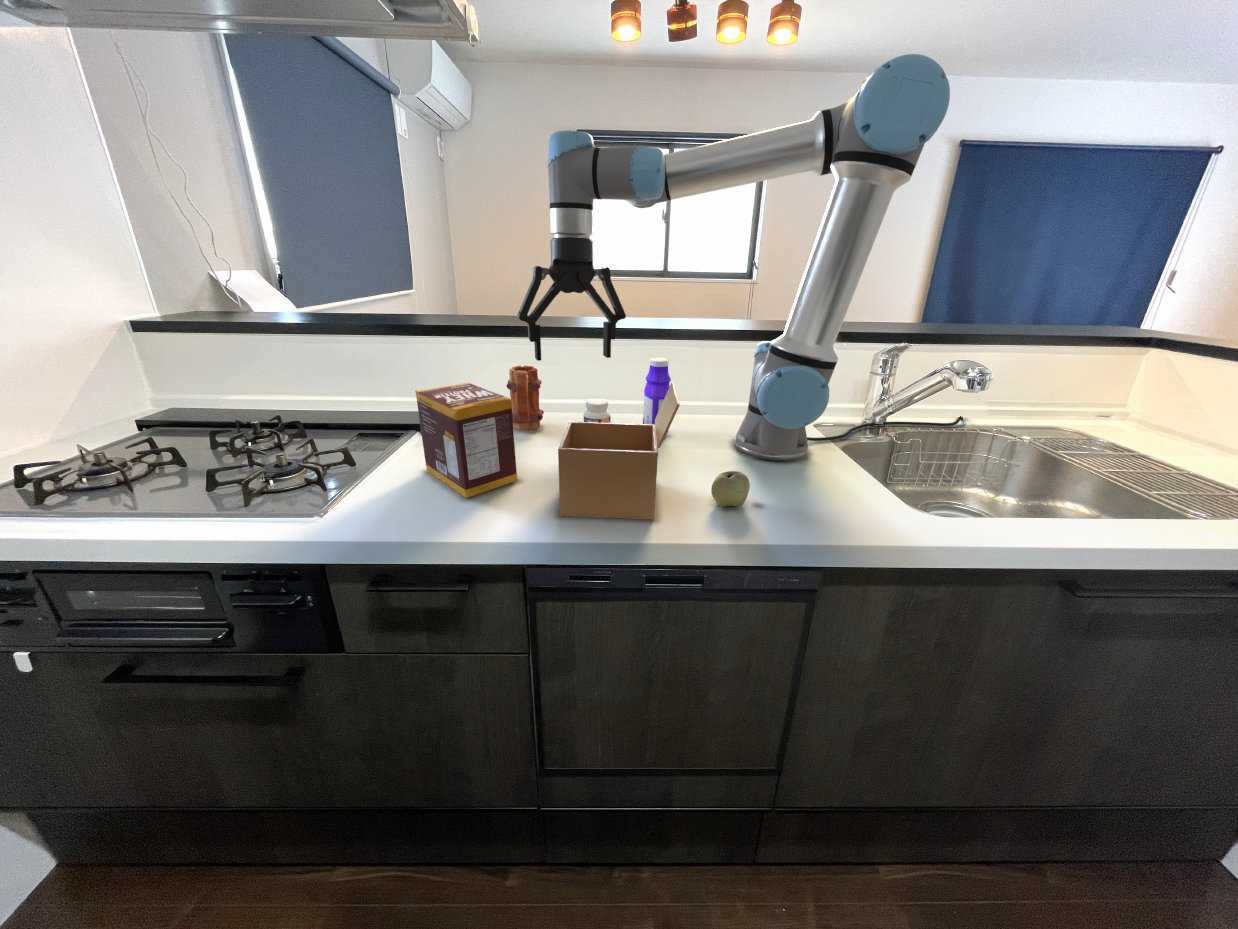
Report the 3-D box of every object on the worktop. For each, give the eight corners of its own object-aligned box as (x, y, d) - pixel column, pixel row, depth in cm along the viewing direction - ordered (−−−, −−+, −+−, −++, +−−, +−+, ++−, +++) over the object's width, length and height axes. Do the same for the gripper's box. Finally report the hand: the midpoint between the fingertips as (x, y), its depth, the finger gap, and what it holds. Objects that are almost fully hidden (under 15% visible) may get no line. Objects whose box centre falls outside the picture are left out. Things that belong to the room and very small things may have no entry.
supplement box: (475, 457, 99) (467, 381, 93) (518, 481, 90) (512, 398, 83) (425, 470, 93) (413, 390, 87) (466, 499, 83) (456, 409, 77)
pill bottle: (606, 451, 104) (607, 406, 100) (580, 448, 105) (580, 403, 101) (612, 442, 109) (613, 398, 105) (587, 439, 110) (587, 396, 106)
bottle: (671, 438, 113) (677, 362, 106) (647, 439, 111) (651, 362, 104) (661, 427, 119) (666, 355, 112) (639, 429, 118) (642, 356, 111)
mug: (510, 421, 120) (506, 360, 114) (544, 421, 121) (542, 360, 115) (504, 443, 107) (499, 375, 101) (542, 442, 108) (540, 375, 102)
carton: (651, 484, 90) (655, 424, 85) (653, 519, 78) (658, 452, 73) (570, 481, 90) (569, 421, 86) (559, 516, 78) (558, 448, 74)
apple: (762, 510, 82) (767, 477, 80) (717, 514, 80) (721, 481, 78) (745, 493, 87) (750, 463, 85) (703, 497, 85) (706, 466, 83)
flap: (654, 420, 85) (656, 421, 85) (657, 447, 73) (659, 448, 73) (671, 381, 82) (674, 382, 82) (677, 403, 70) (680, 404, 70)
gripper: (631, 239, 94) (627, 351, 102) (497, 235, 86) (505, 356, 95) (645, 239, 87) (640, 359, 96) (501, 234, 80) (510, 364, 88)
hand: (573, 358), depth 95 cm, fingers open, 13 cm apart
